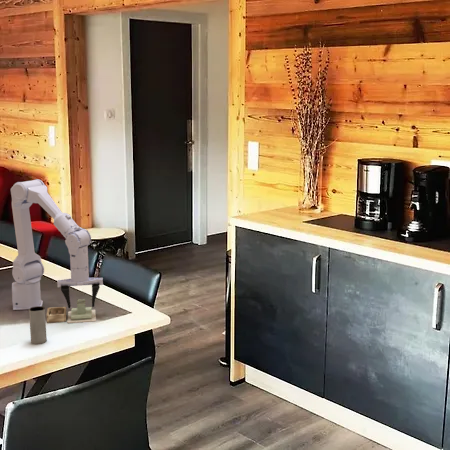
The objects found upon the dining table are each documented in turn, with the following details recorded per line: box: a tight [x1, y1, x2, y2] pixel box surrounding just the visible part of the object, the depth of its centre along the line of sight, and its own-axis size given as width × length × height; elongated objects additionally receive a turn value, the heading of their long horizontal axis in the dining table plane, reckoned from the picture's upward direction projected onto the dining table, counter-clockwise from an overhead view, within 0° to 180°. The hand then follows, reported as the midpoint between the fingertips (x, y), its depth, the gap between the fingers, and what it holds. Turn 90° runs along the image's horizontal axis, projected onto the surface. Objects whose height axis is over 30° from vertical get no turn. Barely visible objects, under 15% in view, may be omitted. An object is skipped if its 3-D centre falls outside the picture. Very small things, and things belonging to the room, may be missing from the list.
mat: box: [66, 309, 97, 324], centre depth 222 cm, size 9×11×1 cm
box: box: [45, 306, 68, 324], centre depth 221 cm, size 6×8×2 cm
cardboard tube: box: [28, 305, 48, 345], centre depth 200 cm, size 4×4×10 cm
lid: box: [71, 298, 93, 319], centre depth 222 cm, size 7×9×5 cm
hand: (81, 306), depth 222 cm, fingers open, 7 cm apart
